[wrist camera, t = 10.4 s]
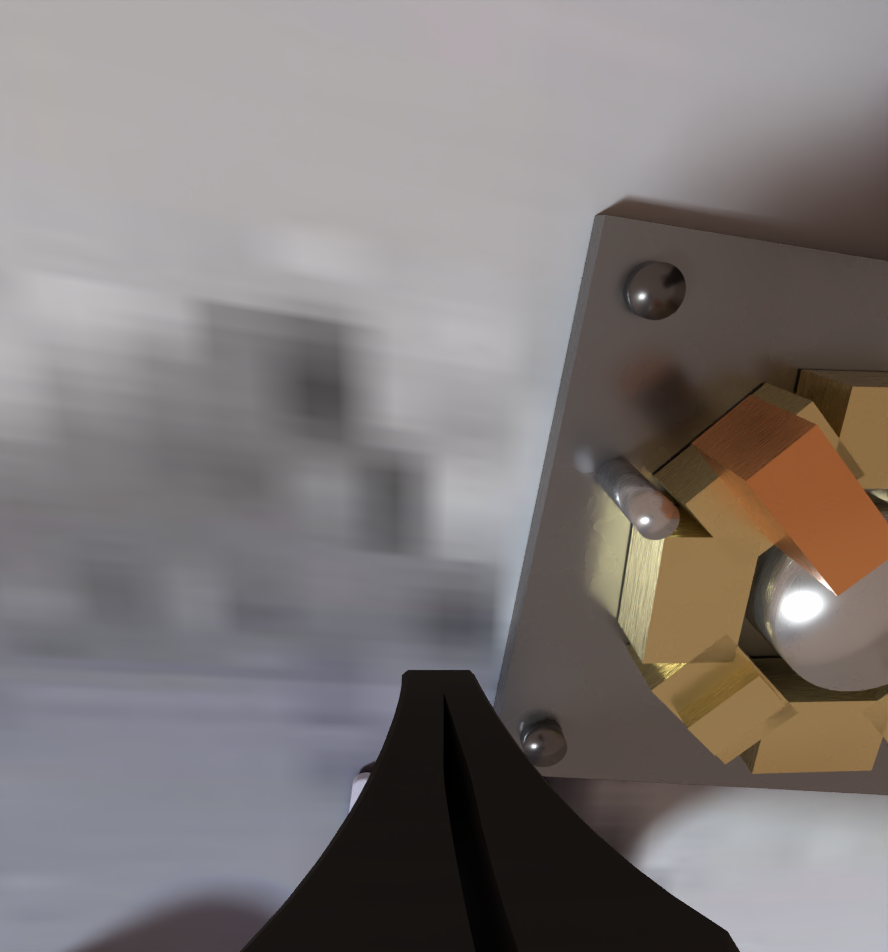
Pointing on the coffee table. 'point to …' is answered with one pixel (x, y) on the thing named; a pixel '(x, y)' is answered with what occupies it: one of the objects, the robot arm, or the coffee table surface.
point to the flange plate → (654, 510)
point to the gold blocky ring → (733, 565)
